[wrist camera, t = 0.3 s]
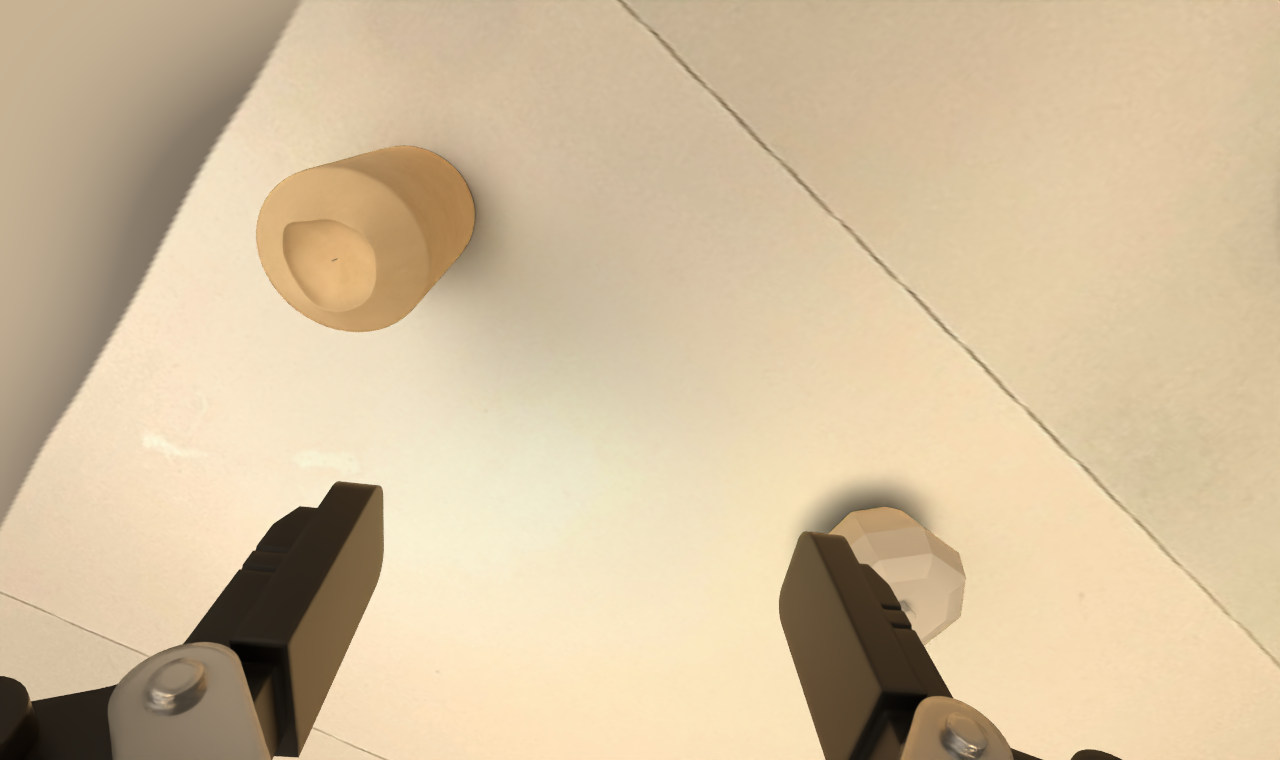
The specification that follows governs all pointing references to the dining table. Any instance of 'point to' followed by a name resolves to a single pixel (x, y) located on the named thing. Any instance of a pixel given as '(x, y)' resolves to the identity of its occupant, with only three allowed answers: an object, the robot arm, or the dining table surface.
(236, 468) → the dining table surface
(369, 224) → the candle
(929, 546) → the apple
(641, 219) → the dining table surface
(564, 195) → the dining table surface
